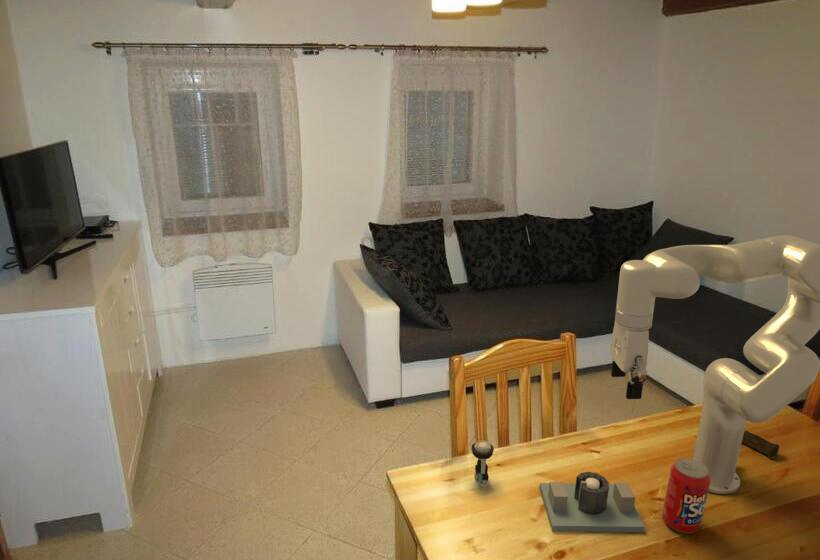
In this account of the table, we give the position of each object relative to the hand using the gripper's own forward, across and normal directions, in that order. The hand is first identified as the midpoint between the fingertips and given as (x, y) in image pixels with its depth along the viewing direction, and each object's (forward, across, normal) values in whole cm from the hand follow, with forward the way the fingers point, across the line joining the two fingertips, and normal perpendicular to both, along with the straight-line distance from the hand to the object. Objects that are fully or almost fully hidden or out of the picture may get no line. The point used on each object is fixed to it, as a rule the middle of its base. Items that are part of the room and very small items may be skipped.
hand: (625, 387), depth 132 cm
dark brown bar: (+29, -19, +40) cm, 53 cm away
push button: (+27, -2, -32) cm, 42 cm away
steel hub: (+26, +8, -8) cm, 28 cm away
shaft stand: (+27, +8, -8) cm, 29 cm away
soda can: (+28, +12, +11) cm, 32 cm away
